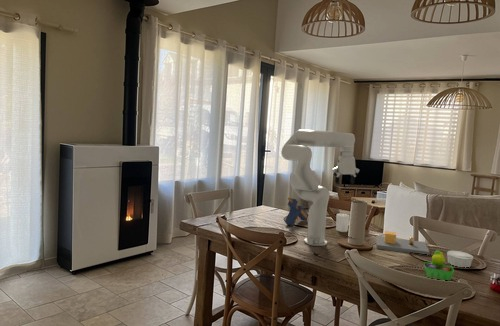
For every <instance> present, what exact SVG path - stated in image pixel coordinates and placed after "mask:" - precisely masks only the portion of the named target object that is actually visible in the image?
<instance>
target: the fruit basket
mask: <svg viewBox="0 0 500 326" xmlns="http://www.w3.org/2000/svg"><path fill="white" fill-rule="evenodd" d="M445 262H446V258H445V255H444V253H443V252H442V251H441V250H435V251H434V253H433V255H432V256H431V262H426V261H424V262H423V265H424V269H425V270H424V271H425V275H427V276H426V278H427V277H435V278H437V279H438V278H439V279H441V280H440V281H443V280H450V281H451V280H452V277H453V275H454V273H455V270H454V268H453V267H454V266H452V265H450V264H449V265H448V264H444V263H445ZM437 279H436V280H437Z"/></svg>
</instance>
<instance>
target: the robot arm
mask: <svg viewBox="0 0 500 326" xmlns="http://www.w3.org/2000/svg"><path fill="white" fill-rule="evenodd" d="M355 143H356V137H355V134H353V133H349V132H347V133H346V132H336V131H328V130H313V129H298V130H296V131H295V132H294V133H292V135H291V136H290V137H289V138H288V139H287V141H286V142H285V143H284V144H283V146H282V147H281V151H280V152H281V156H282V158H283V160H286V161H291V162H297V164H296V166H295V169H294V172H293V173H292V174H291V176H290V179H289V181H290V182H289V183H290V186H291V188H292V190H293V191H294V192H295V194H297V196H298V197H299V198H300V199H301V200H303V201H306V202H311V203H312V204H311V206H310V207H309V208H308V218H307V236H306V237H305V238H304V239H303V242H304V243H305V244H307V245H309V246H313V247H314V246H315V247H322V246H323V247H324V246H326V245H328V241H327V239H325V237H326V223H327V209H328V204H329V200H330V194H331V193H330V190H329V189H328V188H327V187H325V186H322V185H320V182H319V179H318V178H317V176H316V175H315V173H314V171H313V170H312V168H311V161H312V157H313V152H312V150H311V148H310V147H313V148H314V147H317V148H318V147H319V148H320V147H324V148H335V147H336V148H340V150H339V152H338V153H337V155H339V156H338V159H337V161H336V162H337V164H336V167H334V168H331V172H332V174H333V176H334V182H335V184H336V185H339V184H340V176H341V175H350V184H352V185H354V184H355V181H356V177H357V176H358V174H359V172H360V169H359V168H357V167H356V159H355V157H354V152H355V151H354V150H355Z"/></svg>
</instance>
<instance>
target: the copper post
mask: <svg viewBox="0 0 500 326" xmlns="http://www.w3.org/2000/svg"><path fill="white" fill-rule="evenodd" d="M408 240H409V245H413V244H414V241H415V238H414V237H413V236H411V237H409V239H408Z"/></svg>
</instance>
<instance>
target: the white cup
mask: <svg viewBox="0 0 500 326" xmlns="http://www.w3.org/2000/svg"><path fill="white" fill-rule="evenodd" d="M335 219H336V221H335V222H336V223H335V224H336V225H335V227H336V228H335V230H336V231H337V232H340V233H347V232H348V229H349V224H350V214H347V213H336V218H335Z"/></svg>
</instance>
